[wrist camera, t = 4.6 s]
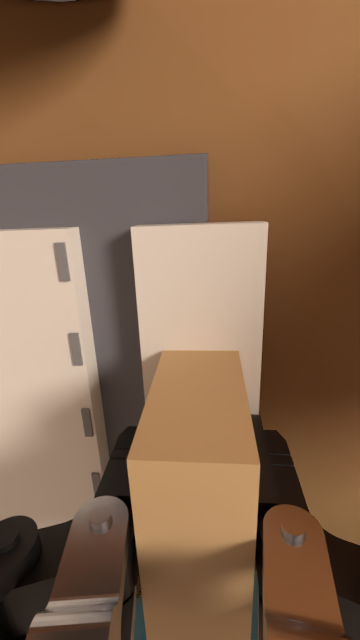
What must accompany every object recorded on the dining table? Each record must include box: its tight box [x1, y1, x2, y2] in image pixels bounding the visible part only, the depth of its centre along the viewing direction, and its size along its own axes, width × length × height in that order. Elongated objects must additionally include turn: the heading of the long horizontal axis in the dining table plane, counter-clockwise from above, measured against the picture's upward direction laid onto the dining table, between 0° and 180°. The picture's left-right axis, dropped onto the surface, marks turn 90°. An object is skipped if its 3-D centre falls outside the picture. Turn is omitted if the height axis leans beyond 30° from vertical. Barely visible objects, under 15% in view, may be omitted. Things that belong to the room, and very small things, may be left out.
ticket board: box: [0, 153, 208, 529], centre depth 13 cm, size 18×14×2 cm
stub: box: [127, 221, 268, 640], centre depth 10 cm, size 14×4×6 cm, turn 2°
